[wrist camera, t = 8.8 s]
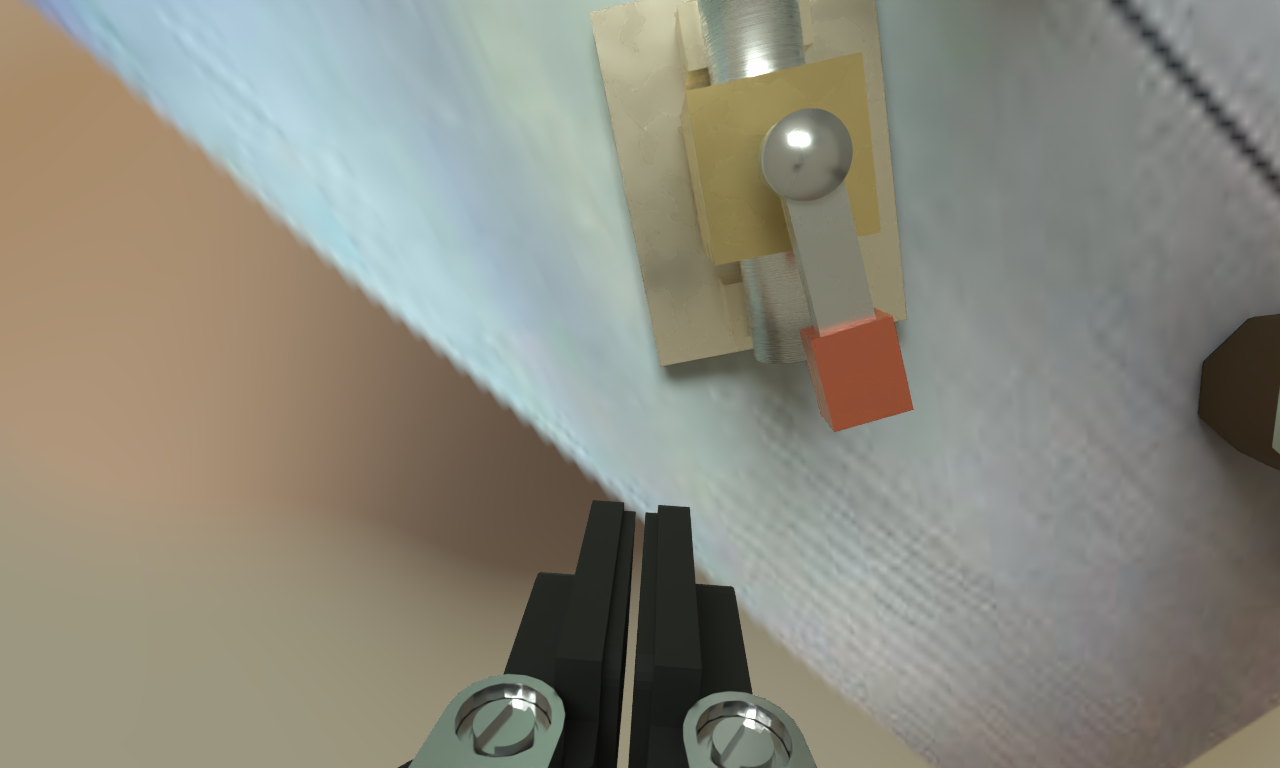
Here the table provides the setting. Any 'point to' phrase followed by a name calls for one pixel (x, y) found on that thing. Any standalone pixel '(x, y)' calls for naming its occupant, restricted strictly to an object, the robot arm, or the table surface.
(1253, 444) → the beer bottle
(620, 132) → the valve stand
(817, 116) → the valve lever
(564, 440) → the table surface
